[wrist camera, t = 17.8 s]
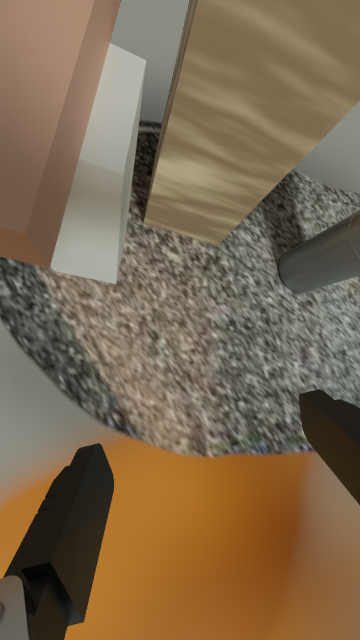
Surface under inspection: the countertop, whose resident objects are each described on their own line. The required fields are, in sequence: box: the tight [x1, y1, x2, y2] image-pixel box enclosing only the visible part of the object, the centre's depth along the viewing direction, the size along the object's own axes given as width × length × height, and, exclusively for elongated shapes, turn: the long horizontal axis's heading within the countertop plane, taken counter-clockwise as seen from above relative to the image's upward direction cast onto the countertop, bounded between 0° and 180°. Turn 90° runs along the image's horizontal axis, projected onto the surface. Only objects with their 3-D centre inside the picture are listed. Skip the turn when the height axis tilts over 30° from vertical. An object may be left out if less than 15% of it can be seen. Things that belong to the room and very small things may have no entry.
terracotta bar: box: [0, 0, 121, 268], centre depth 12 cm, size 22×4×4 cm, turn 171°
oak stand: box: [143, 0, 360, 245], centre depth 26 cm, size 14×14×32 cm
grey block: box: [50, 43, 146, 284], centre depth 24 cm, size 9×9×23 cm
